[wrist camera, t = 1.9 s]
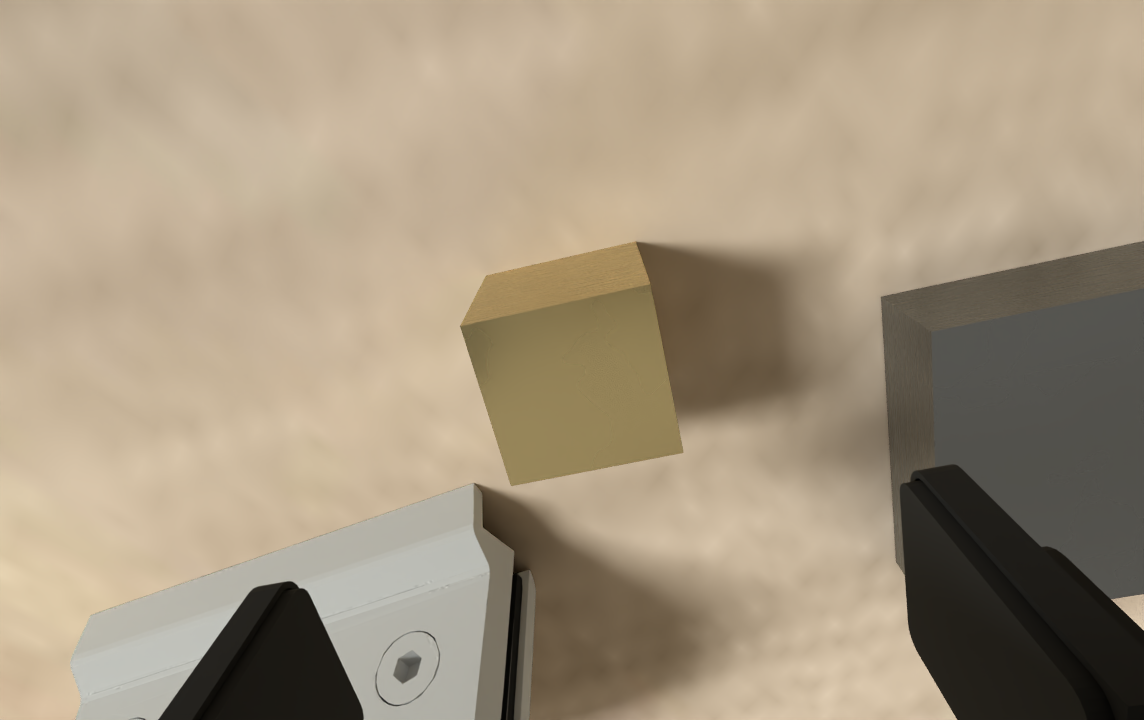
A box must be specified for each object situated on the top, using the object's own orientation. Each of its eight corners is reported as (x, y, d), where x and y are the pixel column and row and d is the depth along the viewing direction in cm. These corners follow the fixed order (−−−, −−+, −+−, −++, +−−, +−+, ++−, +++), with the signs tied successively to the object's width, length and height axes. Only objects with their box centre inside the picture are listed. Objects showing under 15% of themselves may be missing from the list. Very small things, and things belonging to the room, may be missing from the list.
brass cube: (486, 275, 19) (460, 326, 15) (635, 240, 19) (650, 283, 15) (525, 407, 21) (511, 486, 17) (662, 379, 21) (683, 452, 16)
